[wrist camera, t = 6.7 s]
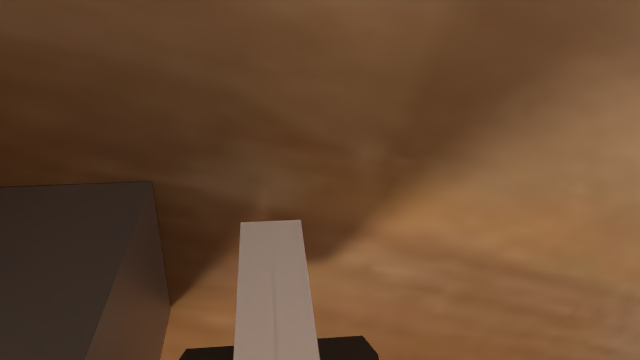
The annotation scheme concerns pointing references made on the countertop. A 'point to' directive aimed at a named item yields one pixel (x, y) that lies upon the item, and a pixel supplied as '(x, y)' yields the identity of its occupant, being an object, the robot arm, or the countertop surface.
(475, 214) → the countertop surface
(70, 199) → the grey rectangular block
